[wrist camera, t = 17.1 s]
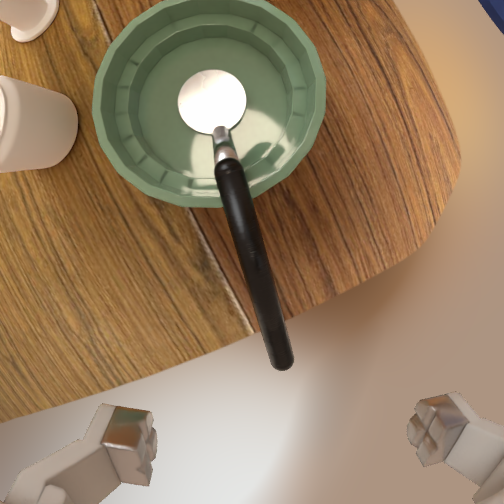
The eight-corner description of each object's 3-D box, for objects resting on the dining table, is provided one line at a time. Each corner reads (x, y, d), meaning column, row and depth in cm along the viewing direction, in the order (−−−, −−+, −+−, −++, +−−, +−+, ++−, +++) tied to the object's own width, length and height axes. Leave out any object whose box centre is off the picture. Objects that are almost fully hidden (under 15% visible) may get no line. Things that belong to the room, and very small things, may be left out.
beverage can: (83, 159, 28) (11, 163, 16) (25, 174, 28) (-51, 186, 16) (80, 84, 26) (12, 56, 14) (21, 105, 25) (-51, 94, 14)
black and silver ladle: (172, 83, 26) (140, 49, 15) (236, 64, 25) (238, 20, 15) (242, 315, 33) (247, 384, 23) (298, 300, 33) (325, 364, 23)
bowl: (276, 8, 25) (286, -26, 18) (326, 170, 29) (352, 172, 23) (107, 58, 25) (77, 36, 18) (149, 220, 30) (126, 236, 23)
